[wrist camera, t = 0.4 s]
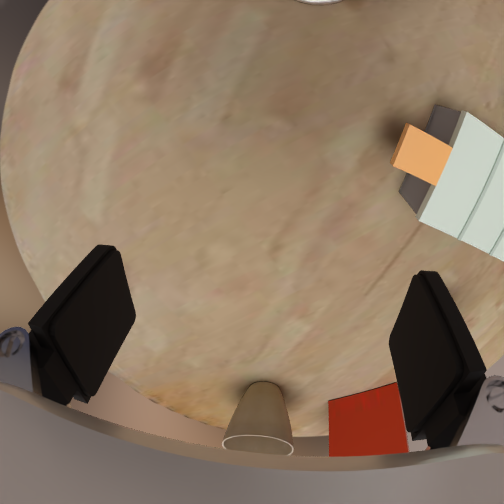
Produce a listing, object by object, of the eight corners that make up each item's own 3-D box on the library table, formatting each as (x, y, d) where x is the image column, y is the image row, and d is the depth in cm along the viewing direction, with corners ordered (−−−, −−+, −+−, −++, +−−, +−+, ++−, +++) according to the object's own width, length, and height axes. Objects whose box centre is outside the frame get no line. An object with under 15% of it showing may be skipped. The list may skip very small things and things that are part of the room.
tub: (434, 104, 33) (462, 112, 26) (522, 165, 33) (551, 183, 27) (398, 191, 40) (417, 215, 33) (488, 235, 41) (510, 261, 34)
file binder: (400, 396, 66) (415, 511, 39) (337, 413, 72) (337, 525, 45) (396, 381, 62) (413, 507, 35) (328, 400, 68) (326, 522, 41)
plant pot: (255, 409, 74) (247, 462, 60) (221, 380, 68) (207, 438, 55) (307, 397, 68) (305, 455, 55) (277, 365, 62) (270, 431, 49)
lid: (419, 85, 26) (424, 86, 24) (552, 182, 27) (558, 186, 25) (373, 199, 33) (376, 204, 32) (510, 262, 34) (515, 268, 33)
